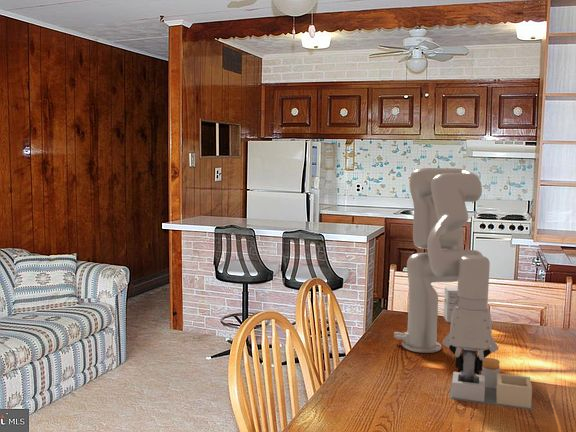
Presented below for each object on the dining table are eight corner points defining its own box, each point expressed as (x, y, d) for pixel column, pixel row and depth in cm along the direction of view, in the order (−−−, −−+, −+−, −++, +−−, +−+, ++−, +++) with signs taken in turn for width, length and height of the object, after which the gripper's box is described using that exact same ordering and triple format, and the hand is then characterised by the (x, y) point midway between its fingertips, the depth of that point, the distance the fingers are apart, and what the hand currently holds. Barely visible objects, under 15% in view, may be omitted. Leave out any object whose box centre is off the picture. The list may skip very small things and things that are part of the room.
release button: (481, 384, 159) (482, 362, 159) (481, 378, 164) (482, 357, 163) (498, 386, 158) (499, 364, 157) (498, 380, 162) (499, 359, 162)
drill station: (448, 404, 151) (450, 379, 151) (451, 381, 166) (452, 359, 166) (533, 415, 145) (534, 390, 145) (528, 391, 160) (529, 368, 160)
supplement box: (443, 317, 234) (444, 285, 232) (462, 318, 233) (463, 286, 232) (446, 322, 226) (447, 290, 225) (466, 323, 226) (467, 290, 224)
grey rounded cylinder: (459, 388, 153) (461, 351, 152) (460, 383, 157) (461, 346, 156) (475, 390, 152) (477, 353, 151) (475, 385, 156) (477, 348, 155)
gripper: (437, 303, 151) (434, 372, 153) (507, 310, 146) (503, 381, 148) (439, 296, 158) (436, 362, 160) (506, 302, 153) (502, 370, 155)
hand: (468, 371), depth 154 cm, fingers closed on grey rounded cylinder, 4 cm apart
